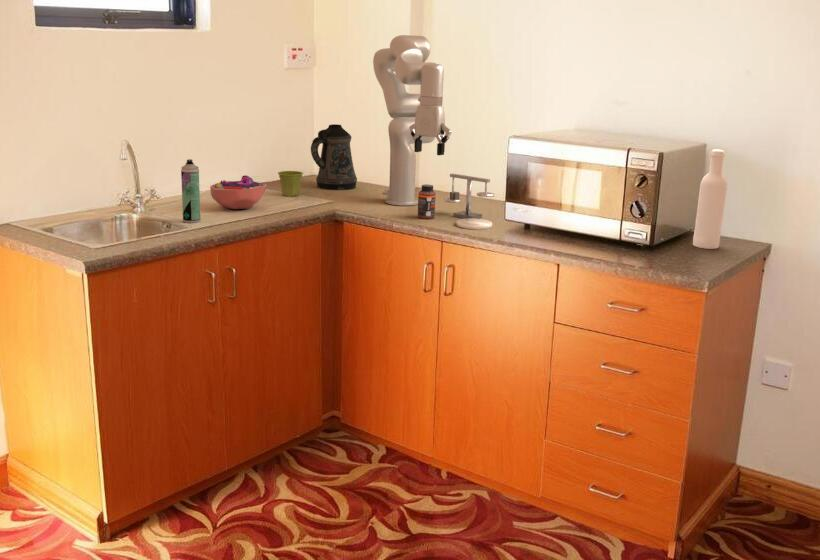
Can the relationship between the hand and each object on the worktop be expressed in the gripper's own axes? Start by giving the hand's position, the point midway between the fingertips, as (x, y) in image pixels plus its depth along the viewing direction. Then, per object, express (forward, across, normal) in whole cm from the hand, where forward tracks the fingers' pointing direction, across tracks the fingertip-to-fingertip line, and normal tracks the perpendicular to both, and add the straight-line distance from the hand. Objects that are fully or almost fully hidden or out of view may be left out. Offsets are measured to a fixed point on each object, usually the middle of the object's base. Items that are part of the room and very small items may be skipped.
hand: (429, 153), depth 292 cm
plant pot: (+22, -61, -7) cm, 65 cm away
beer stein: (+22, -63, +19) cm, 69 cm away
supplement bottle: (+22, 0, 0) cm, 22 cm away
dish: (+22, +19, +2) cm, 29 cm away
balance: (+22, +9, +12) cm, 27 cm away
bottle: (+22, +86, +32) cm, 95 cm away
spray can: (+22, -47, -63) cm, 82 cm away
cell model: (+22, -54, -38) cm, 70 cm away
